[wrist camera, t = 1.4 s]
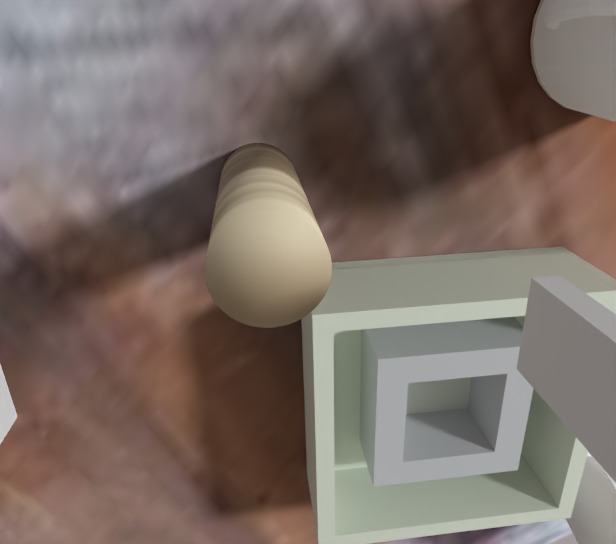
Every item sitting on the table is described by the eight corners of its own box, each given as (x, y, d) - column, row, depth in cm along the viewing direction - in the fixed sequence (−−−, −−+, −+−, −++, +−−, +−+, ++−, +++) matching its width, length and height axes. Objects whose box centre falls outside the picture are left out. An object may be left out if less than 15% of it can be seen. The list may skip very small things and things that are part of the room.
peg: (216, 144, 26) (197, 216, 15) (294, 141, 26) (331, 207, 15) (224, 219, 27) (211, 332, 16) (297, 215, 28) (332, 322, 17)
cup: (541, 512, 40) (608, 615, 33) (511, 426, 36) (579, 522, 29) (625, 477, 40) (711, 575, 32) (604, 386, 36) (698, 474, 28)
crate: (299, 265, 29) (312, 315, 24) (561, 246, 30) (630, 289, 25) (307, 472, 36) (318, 549, 30) (522, 448, 37) (570, 517, 32)
